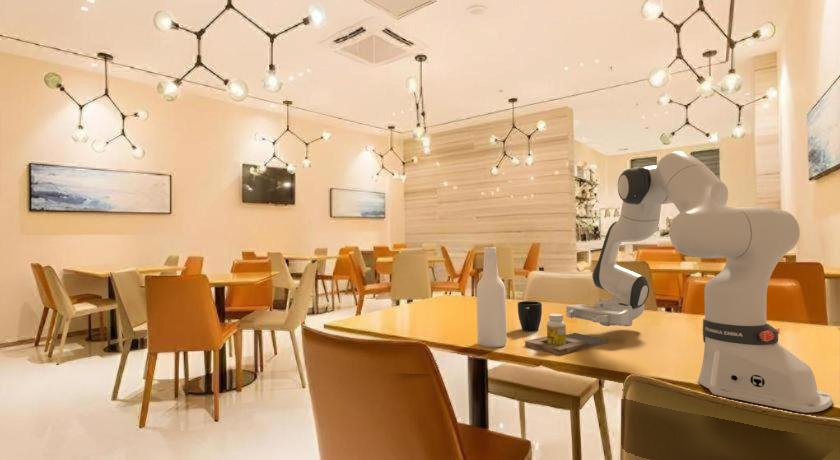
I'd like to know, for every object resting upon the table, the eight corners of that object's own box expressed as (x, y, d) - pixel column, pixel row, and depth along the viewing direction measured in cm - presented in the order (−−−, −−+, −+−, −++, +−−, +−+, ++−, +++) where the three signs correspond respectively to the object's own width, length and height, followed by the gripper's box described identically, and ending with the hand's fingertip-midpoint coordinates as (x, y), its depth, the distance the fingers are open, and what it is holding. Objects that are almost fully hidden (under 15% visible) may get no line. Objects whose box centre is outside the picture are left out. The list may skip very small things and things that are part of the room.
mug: (513, 333, 154) (512, 305, 154) (520, 326, 165) (520, 300, 165) (538, 335, 150) (537, 306, 150) (544, 328, 161) (543, 301, 161)
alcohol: (476, 347, 136) (473, 248, 137) (479, 340, 145) (477, 246, 145) (505, 348, 134) (503, 247, 134) (507, 341, 143) (505, 246, 143)
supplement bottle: (569, 348, 133) (569, 315, 134) (554, 350, 132) (553, 317, 132) (559, 344, 139) (558, 312, 139) (543, 345, 137) (543, 313, 137)
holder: (589, 347, 134) (589, 342, 134) (560, 355, 126) (560, 349, 126) (553, 339, 144) (553, 334, 144) (525, 346, 137) (525, 341, 137)
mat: (607, 342, 140) (607, 339, 140) (589, 346, 134) (589, 344, 134) (575, 335, 149) (574, 332, 149) (557, 339, 144) (556, 336, 144)
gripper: (580, 298, 159) (554, 303, 151) (636, 306, 142) (610, 311, 134) (581, 316, 159) (554, 322, 151) (636, 326, 142) (610, 333, 134)
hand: (581, 317), depth 142 cm, fingers open, 8 cm apart
